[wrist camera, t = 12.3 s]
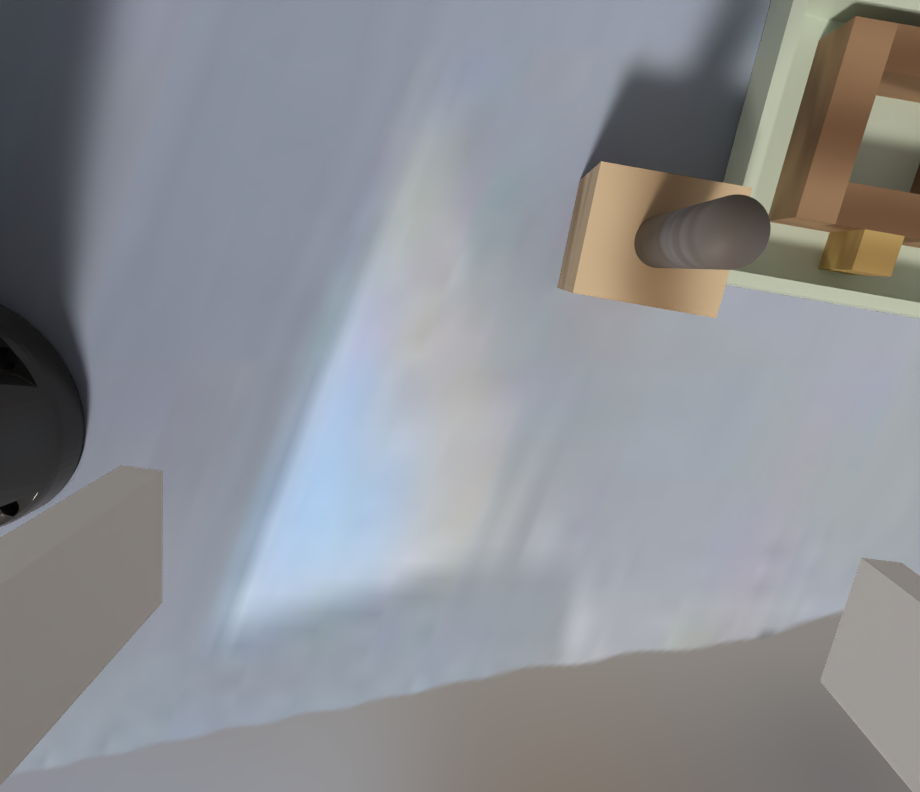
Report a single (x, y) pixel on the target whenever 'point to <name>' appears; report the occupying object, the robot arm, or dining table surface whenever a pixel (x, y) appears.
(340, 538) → the dining table surface
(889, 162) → the tray
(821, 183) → the ring
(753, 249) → the block with upright handle
